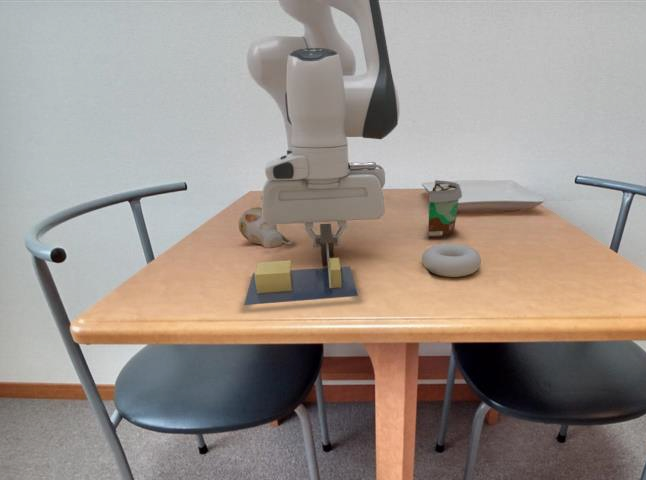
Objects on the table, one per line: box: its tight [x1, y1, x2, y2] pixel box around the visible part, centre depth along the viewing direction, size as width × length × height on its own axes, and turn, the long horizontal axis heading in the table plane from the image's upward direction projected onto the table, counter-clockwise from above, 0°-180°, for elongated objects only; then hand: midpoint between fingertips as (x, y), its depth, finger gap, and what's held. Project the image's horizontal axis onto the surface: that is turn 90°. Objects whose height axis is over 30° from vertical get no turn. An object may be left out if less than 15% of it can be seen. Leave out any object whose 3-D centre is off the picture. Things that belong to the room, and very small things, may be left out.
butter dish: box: [243, 259, 359, 306], centre depth 66 cm, size 12×16×4 cm
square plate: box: [421, 179, 546, 214], centre depth 116 cm, size 27×27×4 cm
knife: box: [319, 223, 335, 288], centre depth 71 cm, size 21×2×4 cm, turn 8°
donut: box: [421, 243, 482, 278], centre depth 73 cm, size 10×4×10 cm
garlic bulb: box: [238, 206, 293, 249], centre depth 85 cm, size 8×10×10 cm
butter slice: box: [330, 257, 341, 288], centre depth 66 cm, size 5×2×3 cm, turn 8°
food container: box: [427, 179, 462, 240], centre depth 90 cm, size 12×6×10 cm, turn 168°
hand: (326, 245), depth 76 cm, fingers closed on knife, 2 cm apart
